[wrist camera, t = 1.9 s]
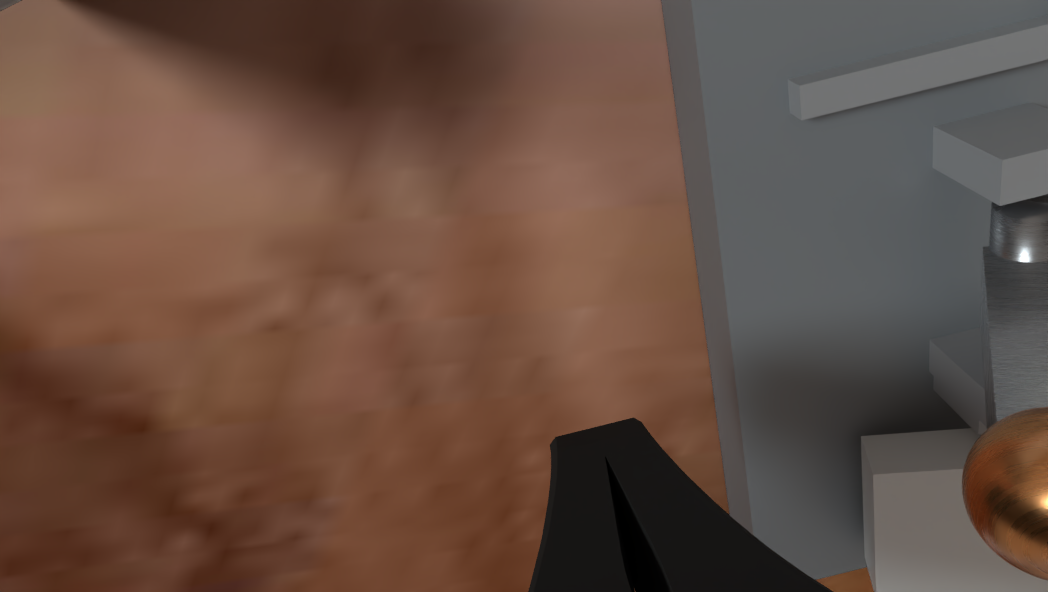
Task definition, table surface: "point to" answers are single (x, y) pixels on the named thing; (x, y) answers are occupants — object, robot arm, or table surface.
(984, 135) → the panel
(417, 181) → the table surface
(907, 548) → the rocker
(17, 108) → the table surface
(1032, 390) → the lever
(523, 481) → the table surface
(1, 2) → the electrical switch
